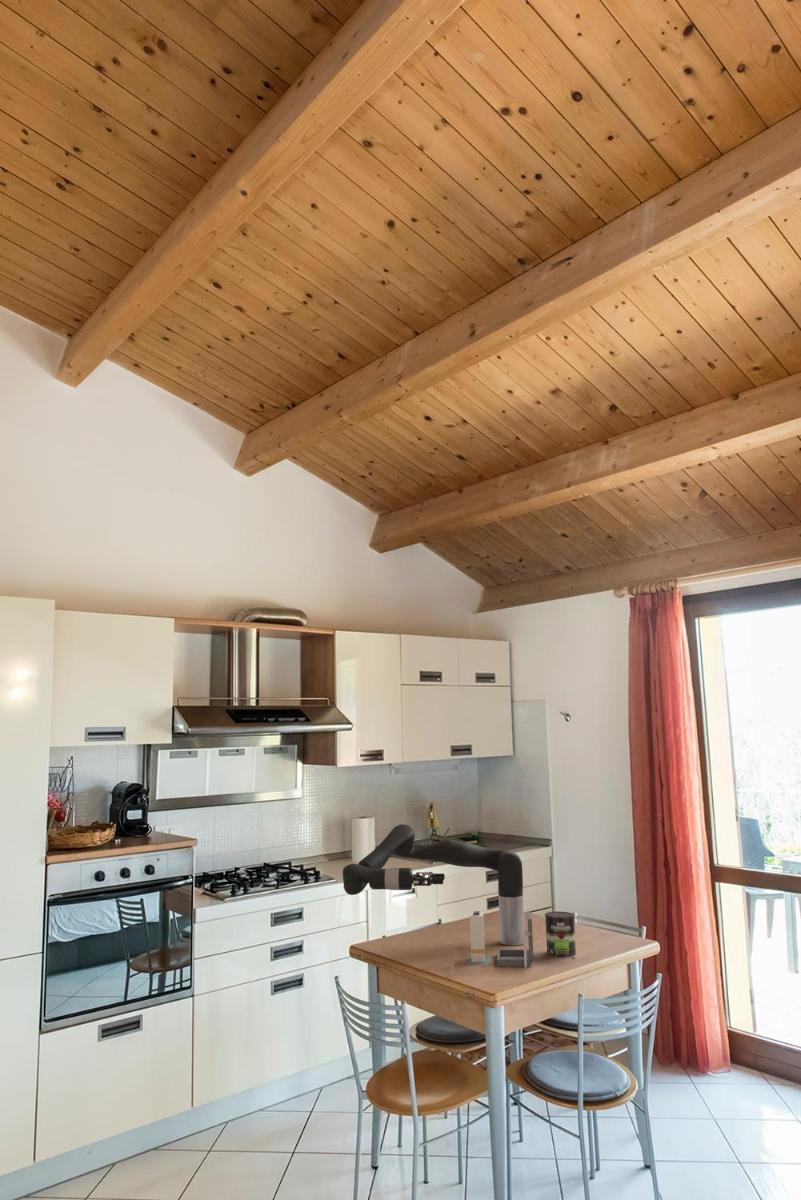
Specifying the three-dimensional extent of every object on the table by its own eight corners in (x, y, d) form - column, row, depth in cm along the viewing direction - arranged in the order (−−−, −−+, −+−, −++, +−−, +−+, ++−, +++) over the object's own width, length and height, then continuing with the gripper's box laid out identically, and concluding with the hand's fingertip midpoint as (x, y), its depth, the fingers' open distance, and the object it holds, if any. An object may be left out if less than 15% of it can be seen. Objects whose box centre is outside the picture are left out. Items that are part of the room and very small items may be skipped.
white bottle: (471, 958, 284) (470, 910, 287) (484, 958, 284) (483, 910, 286) (471, 962, 279) (469, 913, 282) (484, 962, 279) (483, 913, 281)
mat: (467, 958, 287) (467, 955, 288) (490, 958, 287) (490, 955, 287) (465, 967, 276) (465, 964, 276) (489, 968, 275) (489, 965, 275)
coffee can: (577, 960, 283) (575, 917, 285) (547, 959, 284) (545, 917, 287) (575, 952, 293) (573, 911, 295) (546, 952, 294) (544, 911, 297)
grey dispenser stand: (497, 958, 287) (495, 910, 290) (532, 958, 286) (530, 910, 288) (497, 970, 272) (495, 919, 275) (534, 970, 271) (531, 920, 273)
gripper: (396, 871, 285) (442, 870, 284) (400, 865, 299) (444, 864, 298) (396, 893, 284) (443, 893, 282) (400, 886, 298) (445, 886, 296)
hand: (443, 878), depth 290 cm, fingers open, 8 cm apart
